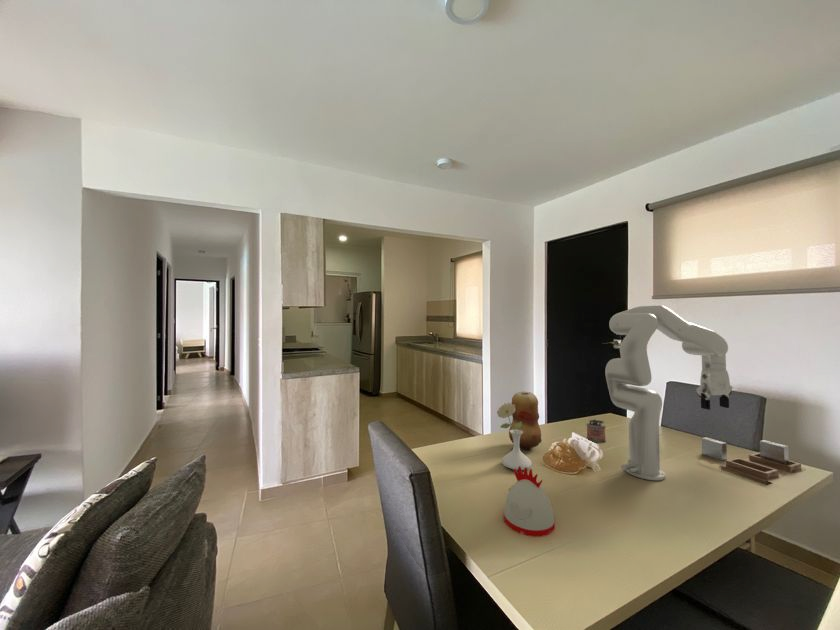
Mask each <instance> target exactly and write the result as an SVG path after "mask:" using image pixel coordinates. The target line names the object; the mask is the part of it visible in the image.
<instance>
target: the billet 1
mask: <svg viewBox="0 0 840 630" xmlns="http://www.w3.org/2000/svg"><path fill="white" fill-rule="evenodd" d="M727 445H728V444H727V442H725V441H722V440H717V439H713V438H710V437H702V438H701V454H702V455H705V456H708V457H711V458H713V459H717V460H721V461H726V460H728V454H727V451H728V450H727Z"/></svg>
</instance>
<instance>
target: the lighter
mask: <svg viewBox="0 0 840 630" xmlns="http://www.w3.org/2000/svg"><path fill="white" fill-rule="evenodd" d="M588 420H589V421H588V423H586V439H587V438H588V439H589V440H588V441H590V440H592V441H591V442H597V443H607V440H606V428H607V427H606V425H605V424H604V423H605V421H604V420H602V419H596V418H593V419H591V418H590V419H588Z"/></svg>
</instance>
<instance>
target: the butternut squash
mask: <svg viewBox="0 0 840 630" xmlns="http://www.w3.org/2000/svg"><path fill="white" fill-rule="evenodd" d="M511 403H512V404H511V405H513V404H514V406H515V412H514V413H513V414H512V416H511V417H512V421H511V425H512V426H513V428H514V425H515V424H516V423H519V422H521V421H522V424H521V426H520V427H519V428H514V429H516V430H521V431H523V433H522V434H521V436H520V442H519V448H520V450H531V449H533V448H535V447H537V446H539V445H540V444H541V443H542V431H541V428H540V425H539V420H540V419H539V418H540V414H539V407H538V406H539V399H538V398H537V396H536V395H535V394H534V393H533V392H529V391H518V392H515V393H514V394H513V396H512V397H511ZM511 425H510V426H509V430H508V437H509V439H510V441H511V442H512V443H513V437H512V434H511V433H510V430H513V428H512V426H511Z"/></svg>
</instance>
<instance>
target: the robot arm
mask: <svg viewBox="0 0 840 630" xmlns="http://www.w3.org/2000/svg"><path fill="white" fill-rule="evenodd" d="M608 324H609V325H608V326H609V329H610V331H611V332H613V333H614V334H616V335H619V336H620V335H621V336H625V337H624V338H623V340H622V341H621V343H620V346H619V353H620V358H619V357H617V358H612V359H610V360H609V361H608V362H606V366H605V370H604V371H605V372H604V373H605V381H606V384H607V389H608V392H609V393H608V394H609V397H610V400H611V402H612V404H613V405H614V406H615V407H617V408H621V409H623V410H627V411H630V412H633V413H634V414H633V415H632V416H631V418H630V419H629V422H628V451H629V452H628V454H629V455H628V456H629V457H628V459H627V462H626V463H625V464H622V465H621V466H620V468H621V470H622V471H624V472H625V471H626V473H628V475H631V476H634V477H637V478H639V479H643V480H648V481H663V480H664V479H666V473H665V472H664V471H663V470H662V469H661V460H660V458H661V457H660V456H661V455H660V453H661V452H660V451H661V449H660V420H661V419H660V418H661V417H660V416H661V412H662V408H663V400H662V399H663V398H662V397H661V395H660V394H659V393H657V392H656V391H654V390H653V389H649V388H644V387H646V386H648V385H650V384H651V382H652V371H651V366H650V365H651V364H650V361H649V356H648V343H649V341H650V339H651V337H652V336H653V335H654V334H655V332H656V330H658V331H659V332H661V333H662V334H663V335H665V336H666V337H668V339H672V340H674V341H678V342H681V348H682V351H684V352H685V353H687V354H689V355H694V356H701V372H700V380H699V381H700V382H699V384H700V385H699V386H698V387H697V388H696V389H695V391H696V392H697V396H698V397H699V399H700V408H701V409H704V410H707V411H710V410H711V399H710V397H711V396H719V406H720V407H722V408H727V409H729V408H730V398H731V394H732V390H733V386H732V385H731V382H730V376H729V372H728V370H727V360H726V359H727V356H726V355H727V353H728V352H729V344H728V342H727V341H726V339H725V338H724V337H723V336H721V335H720V334H719V333H717V332H716V331H714V330H712V329H710V328H707V327H704V326H701V325H698V324H695V323H693V322H688V321H687V320H685V319H684V318H682V317H681V316H679V315H678V314H677V313H676V312H674V311H673V310H672V309H671V308H668V307H667V306H664V305H659V304H658V305H642V306H641V305H640V306H636V307H633V308H630V309H627V310H623V311H621V312H617V313H615V314H614V315H612V317H610V320H609V323H608Z"/></svg>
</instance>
